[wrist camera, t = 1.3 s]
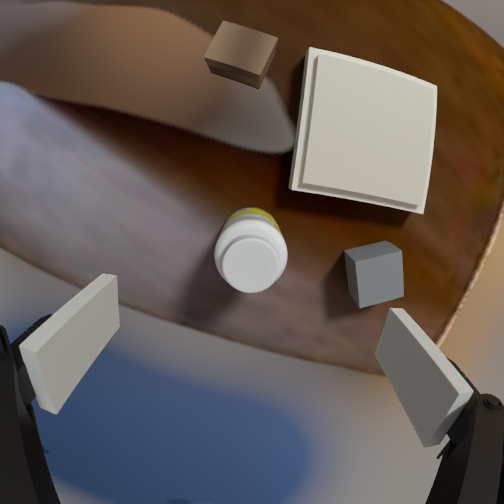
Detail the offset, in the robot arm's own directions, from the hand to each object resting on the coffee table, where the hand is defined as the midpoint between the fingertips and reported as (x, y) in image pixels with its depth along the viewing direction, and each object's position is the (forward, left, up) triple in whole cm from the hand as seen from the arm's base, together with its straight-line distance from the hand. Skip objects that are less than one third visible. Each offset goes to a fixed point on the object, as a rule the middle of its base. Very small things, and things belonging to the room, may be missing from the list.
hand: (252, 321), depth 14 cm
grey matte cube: (+13, -2, -18) cm, 22 cm away
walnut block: (-3, +17, -18) cm, 25 cm away
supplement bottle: (0, 0, -18) cm, 18 cm away
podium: (+10, +12, -18) cm, 23 cm away
